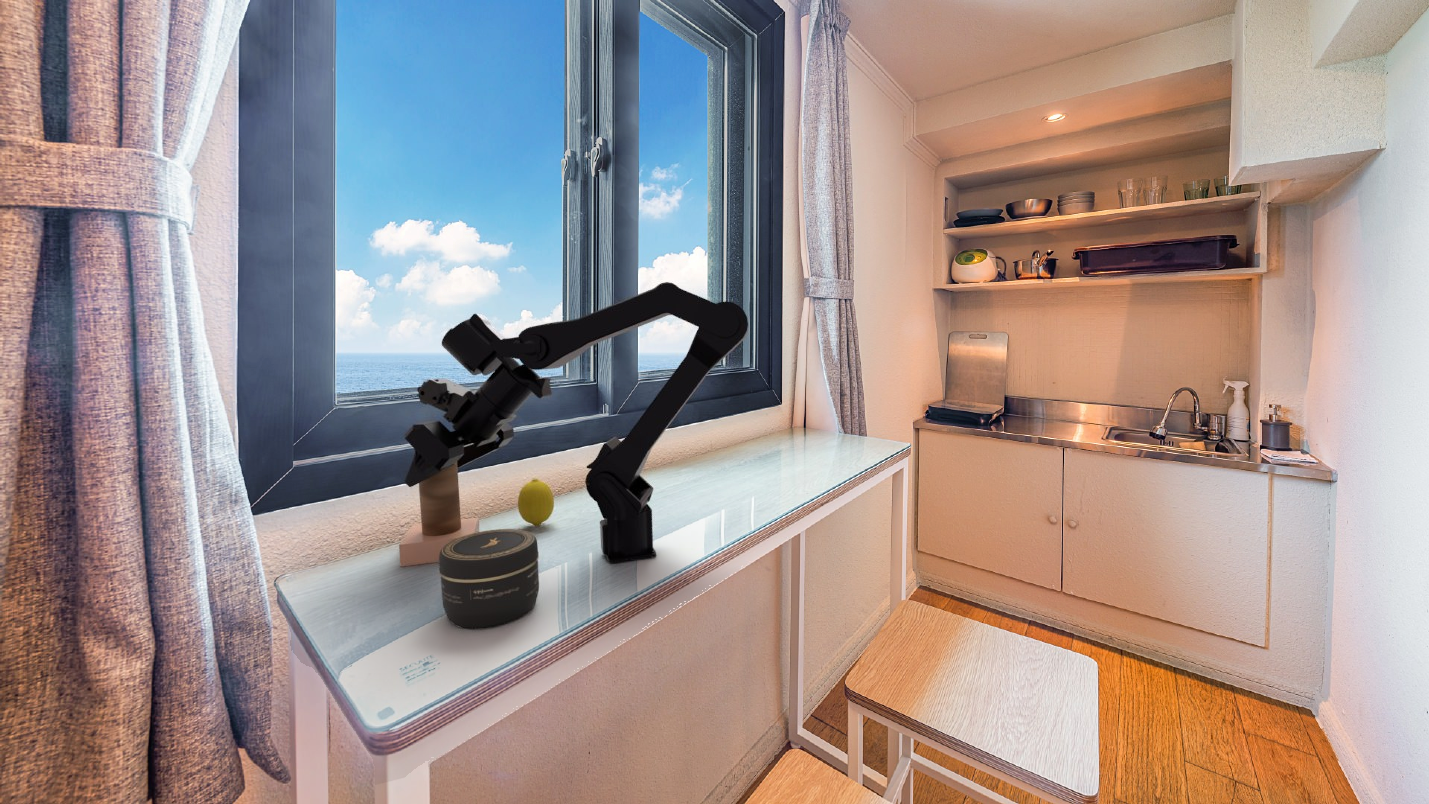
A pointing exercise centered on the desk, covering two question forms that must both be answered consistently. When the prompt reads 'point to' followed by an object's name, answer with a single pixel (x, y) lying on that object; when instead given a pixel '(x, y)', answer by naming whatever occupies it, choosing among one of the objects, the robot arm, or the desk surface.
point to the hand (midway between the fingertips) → (428, 476)
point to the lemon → (535, 502)
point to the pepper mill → (440, 503)
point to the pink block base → (430, 543)
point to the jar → (489, 577)
